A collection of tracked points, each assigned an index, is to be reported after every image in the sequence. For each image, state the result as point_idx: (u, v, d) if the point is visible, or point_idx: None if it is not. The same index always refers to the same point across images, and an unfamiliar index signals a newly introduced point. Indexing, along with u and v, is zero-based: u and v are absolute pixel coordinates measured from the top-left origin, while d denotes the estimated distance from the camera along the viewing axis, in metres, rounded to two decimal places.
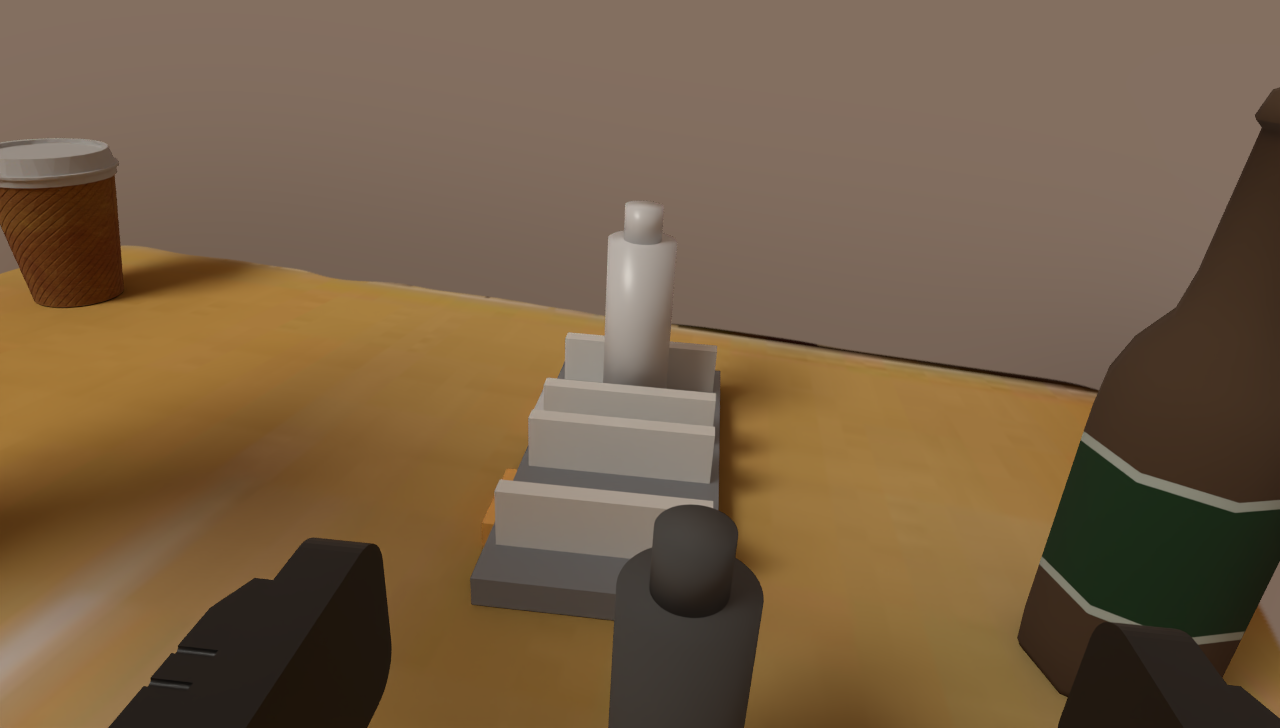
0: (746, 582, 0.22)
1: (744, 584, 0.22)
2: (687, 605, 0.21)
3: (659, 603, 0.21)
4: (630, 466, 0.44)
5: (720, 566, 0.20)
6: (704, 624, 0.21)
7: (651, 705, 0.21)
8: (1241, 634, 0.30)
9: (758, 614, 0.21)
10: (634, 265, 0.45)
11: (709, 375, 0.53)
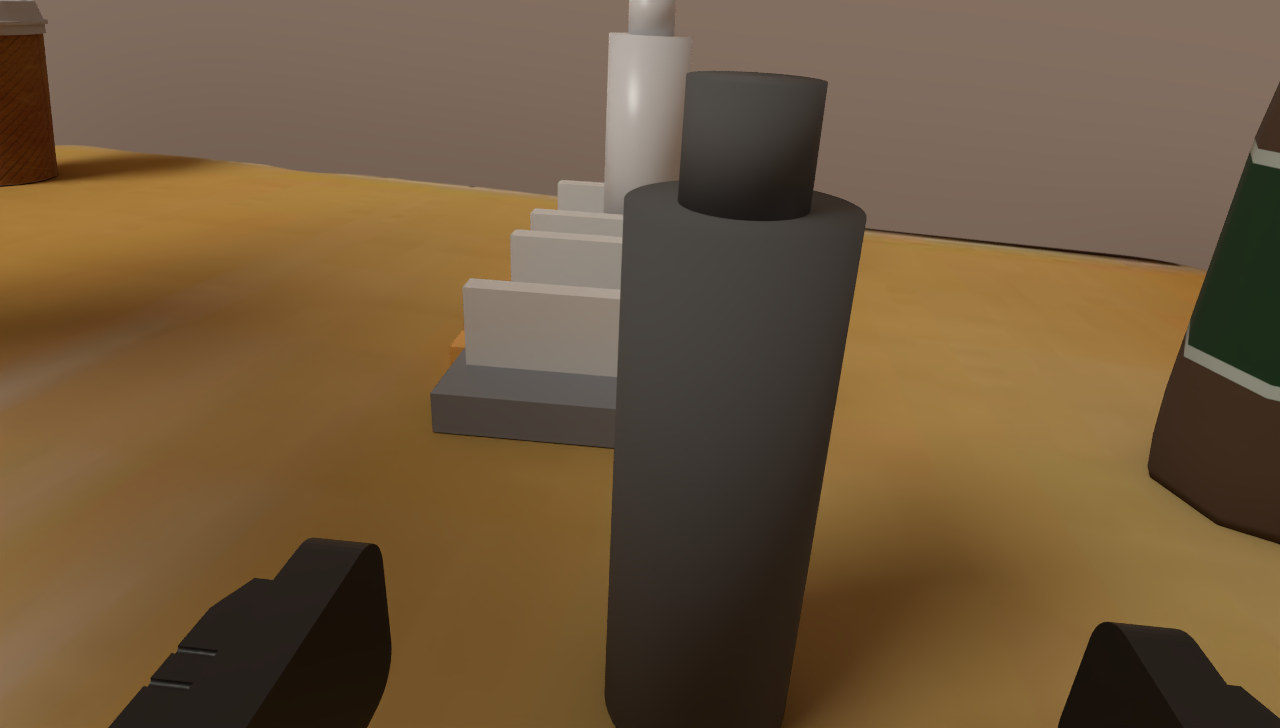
0: (833, 203, 0.14)
1: (832, 204, 0.14)
2: (744, 195, 0.12)
3: (695, 210, 0.13)
4: None
5: (801, 116, 0.12)
6: (774, 225, 0.12)
7: (684, 379, 0.13)
8: None
9: (861, 222, 0.13)
10: (641, 58, 0.37)
11: None
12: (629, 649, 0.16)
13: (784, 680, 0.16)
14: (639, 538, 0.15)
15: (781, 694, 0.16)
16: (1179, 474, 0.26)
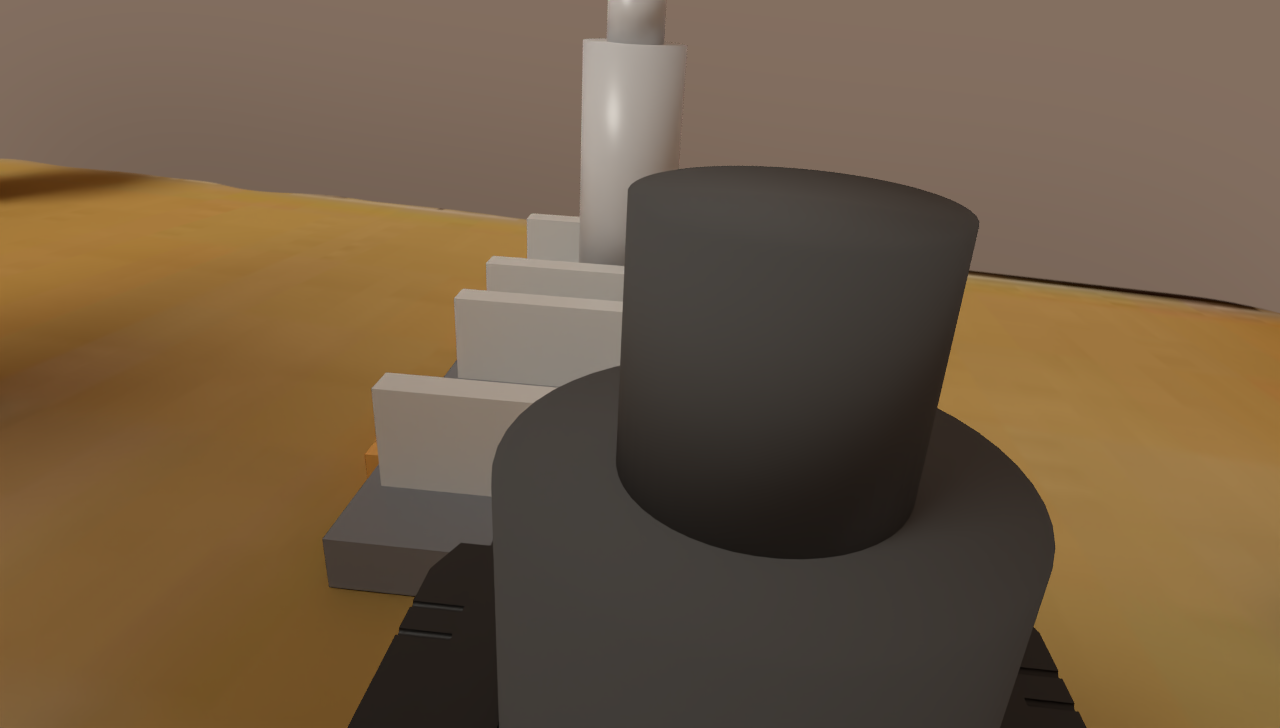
0: (956, 448, 0.06)
1: (953, 452, 0.06)
2: (770, 504, 0.05)
3: (651, 507, 0.05)
4: None
5: (921, 319, 0.05)
6: (845, 584, 0.05)
7: None
8: None
9: (1049, 547, 0.05)
10: (622, 73, 0.29)
11: None
12: None
13: None
14: None
15: None
16: None
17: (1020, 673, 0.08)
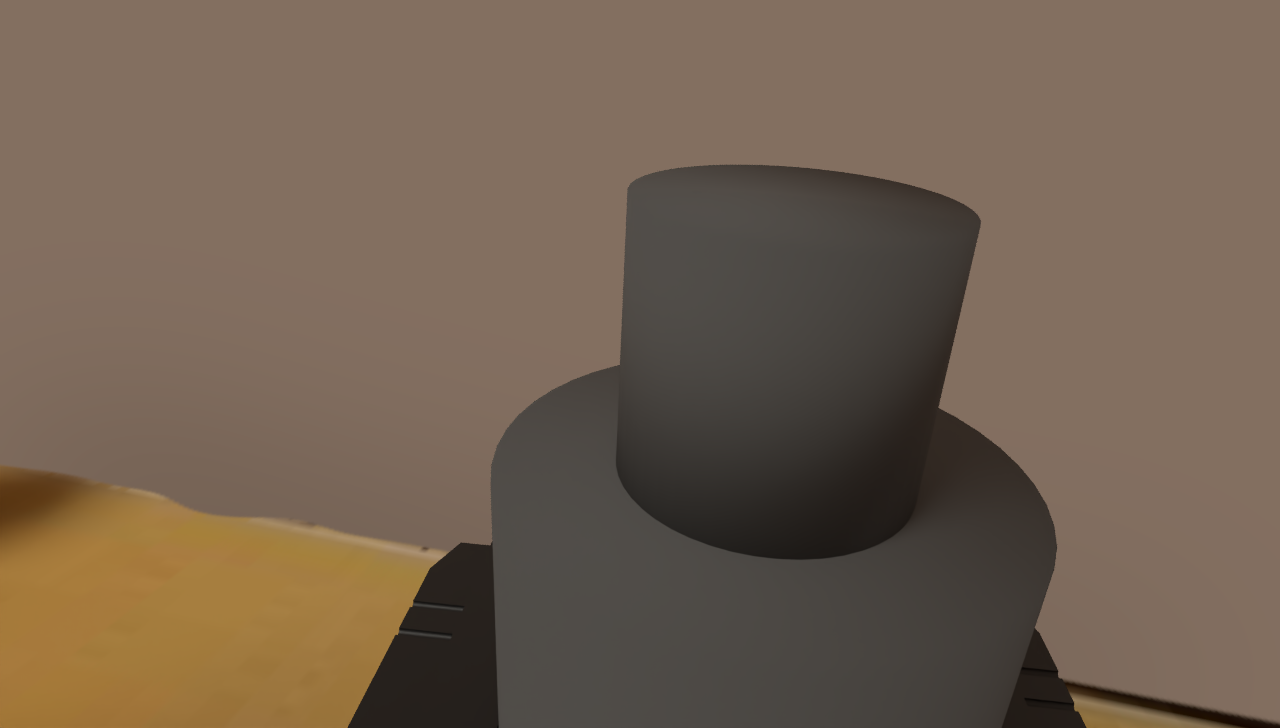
0: (957, 448, 0.06)
1: (956, 451, 0.06)
2: (770, 504, 0.05)
3: (651, 507, 0.05)
4: None
5: (925, 319, 0.04)
6: (846, 587, 0.05)
7: None
8: None
9: (1051, 547, 0.05)
10: None
11: None
12: None
13: None
14: None
15: None
16: None
17: (1020, 673, 0.08)
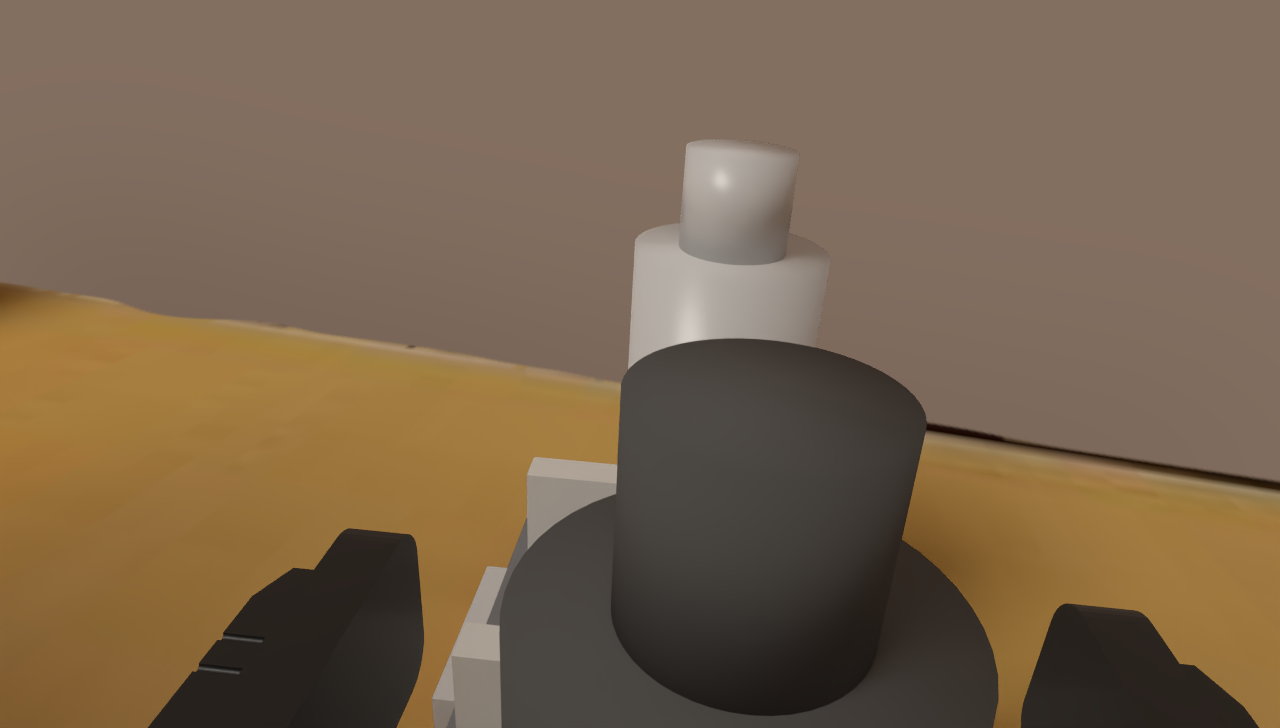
0: (917, 588, 0.07)
1: (915, 593, 0.07)
2: (744, 671, 0.06)
3: (642, 658, 0.06)
4: None
5: (874, 521, 0.05)
6: None
7: None
8: None
9: (993, 699, 0.06)
10: (714, 325, 0.15)
11: None
12: None
13: None
14: None
15: None
16: None
17: None
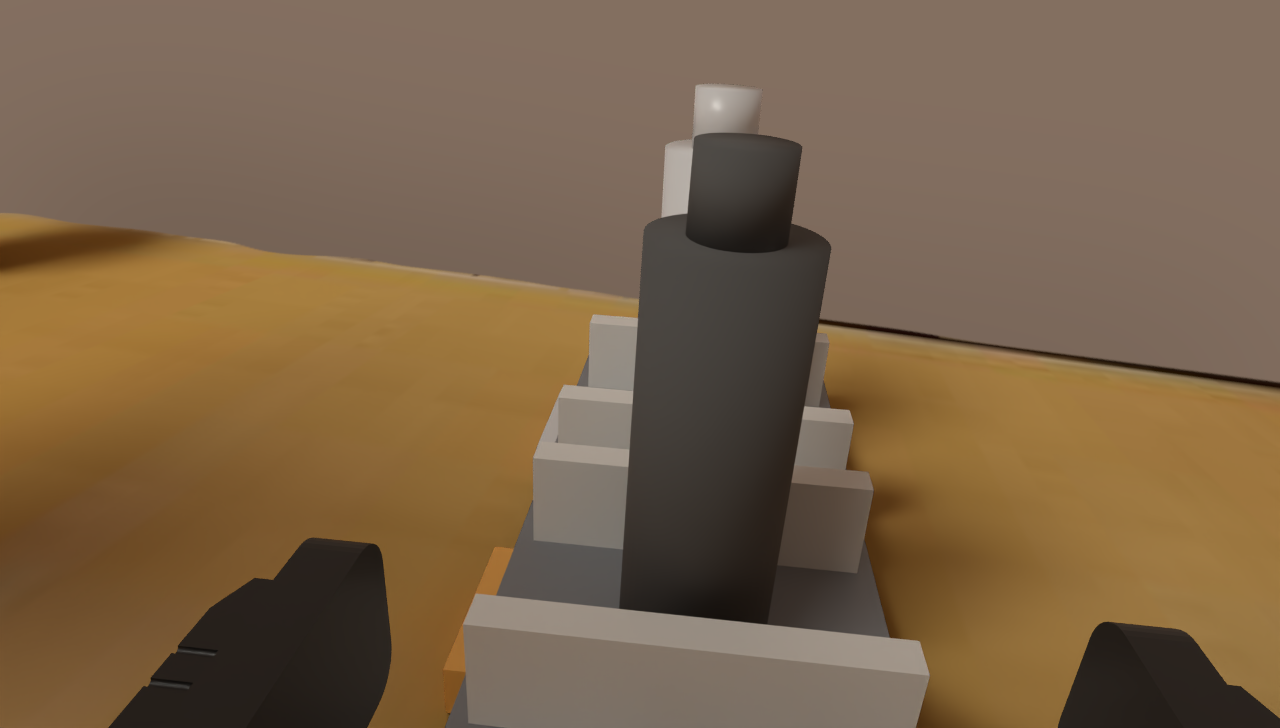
0: (807, 237, 0.18)
1: (806, 238, 0.17)
2: (736, 233, 0.16)
3: (699, 243, 0.17)
4: None
5: (780, 175, 0.16)
6: (758, 257, 0.16)
7: (688, 372, 0.17)
8: None
9: (826, 254, 0.16)
10: None
11: (815, 380, 0.34)
12: (639, 585, 0.20)
13: (763, 615, 0.20)
14: (649, 497, 0.18)
15: None
16: None
17: None
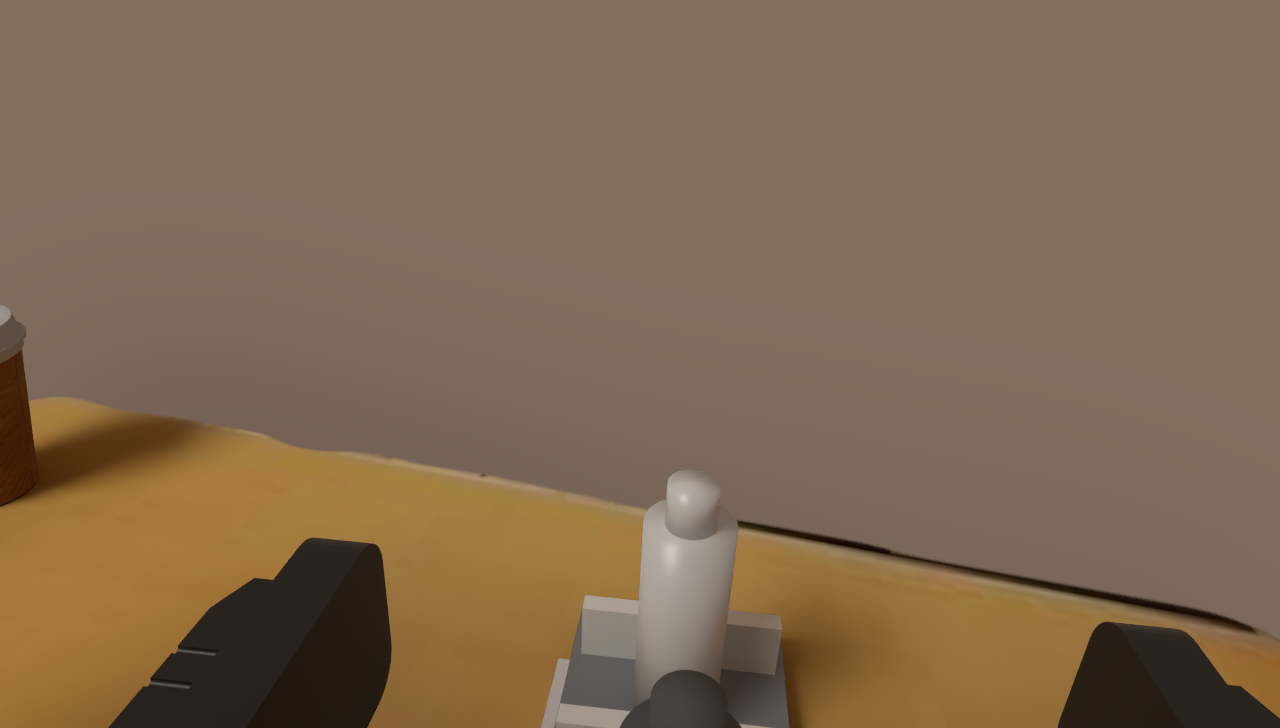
0: None
1: None
2: None
3: None
4: None
5: None
6: None
7: None
8: None
9: None
10: (679, 571, 0.32)
11: (771, 655, 0.40)
12: None
13: None
14: None
15: None
16: None
17: None
